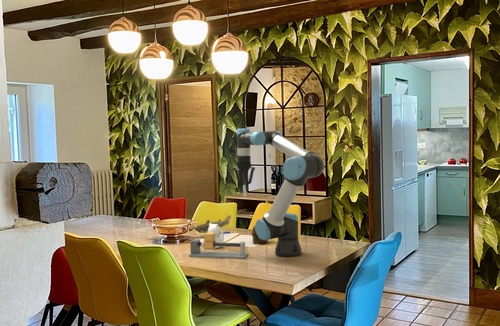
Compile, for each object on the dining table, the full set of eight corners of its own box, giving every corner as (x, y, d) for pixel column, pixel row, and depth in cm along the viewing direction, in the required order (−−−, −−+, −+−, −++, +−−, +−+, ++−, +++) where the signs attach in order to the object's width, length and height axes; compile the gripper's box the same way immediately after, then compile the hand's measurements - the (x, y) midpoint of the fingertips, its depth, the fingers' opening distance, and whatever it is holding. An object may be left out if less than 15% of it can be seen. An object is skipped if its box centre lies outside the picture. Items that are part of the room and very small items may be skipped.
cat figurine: (204, 248, 303) (203, 224, 302) (217, 244, 313) (216, 220, 312) (216, 250, 298) (215, 225, 297) (229, 245, 308) (228, 221, 307)
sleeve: (215, 247, 287) (215, 232, 286) (212, 249, 282) (212, 234, 281) (207, 247, 288) (206, 232, 288) (204, 249, 283) (203, 234, 283)
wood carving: (235, 231, 354) (235, 215, 353) (199, 239, 327) (199, 223, 327) (226, 229, 360) (226, 214, 359) (190, 238, 333) (189, 221, 333)
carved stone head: (273, 242, 314) (272, 223, 313) (261, 245, 306) (260, 226, 305) (260, 240, 321) (259, 221, 321) (248, 243, 313) (247, 224, 313)
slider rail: (248, 254, 285) (248, 239, 284) (244, 259, 275) (243, 243, 275) (195, 252, 293) (195, 238, 292) (189, 256, 283) (188, 242, 283)
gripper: (256, 154, 291) (257, 195, 292) (234, 155, 294) (236, 195, 296) (253, 155, 284) (254, 197, 285) (231, 155, 287) (232, 196, 288)
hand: (245, 196), depth 290 cm, fingers closed
